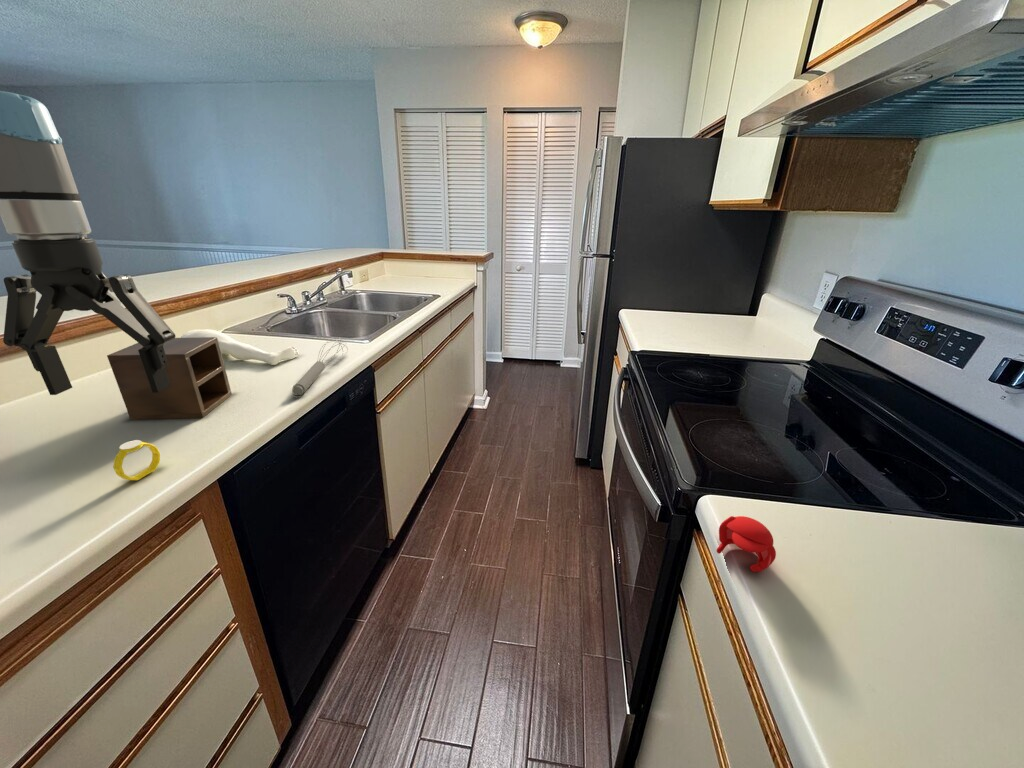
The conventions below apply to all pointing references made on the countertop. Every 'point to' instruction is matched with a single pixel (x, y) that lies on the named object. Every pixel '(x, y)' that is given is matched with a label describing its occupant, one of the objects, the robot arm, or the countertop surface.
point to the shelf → (173, 380)
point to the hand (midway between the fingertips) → (112, 390)
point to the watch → (132, 447)
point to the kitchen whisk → (313, 372)
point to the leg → (243, 348)
